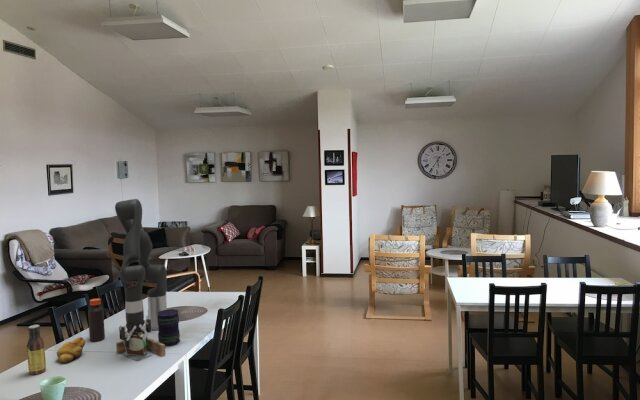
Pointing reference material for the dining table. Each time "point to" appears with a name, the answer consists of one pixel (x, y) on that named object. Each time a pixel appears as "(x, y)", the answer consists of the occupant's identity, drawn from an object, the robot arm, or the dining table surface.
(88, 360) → the dining table surface
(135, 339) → the food container
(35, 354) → the sauce bottle
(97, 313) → the vinegar
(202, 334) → the dining table surface
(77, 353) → the bread roll
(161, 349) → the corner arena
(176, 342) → the rusty blue oil drum
